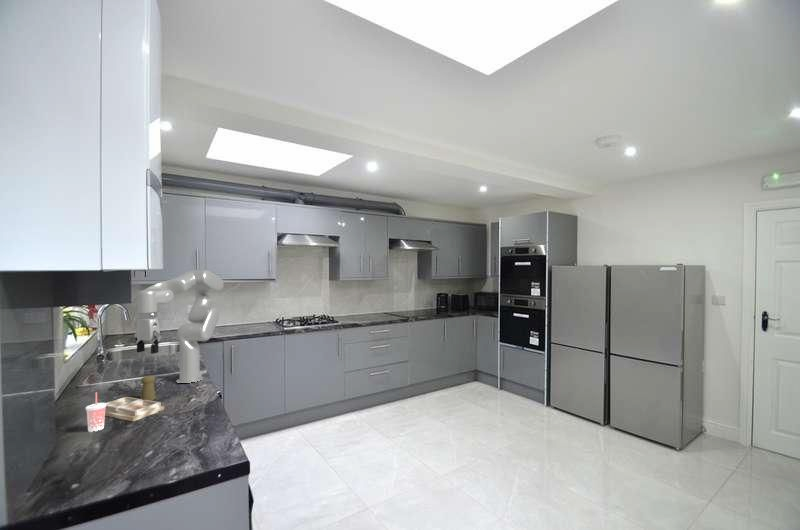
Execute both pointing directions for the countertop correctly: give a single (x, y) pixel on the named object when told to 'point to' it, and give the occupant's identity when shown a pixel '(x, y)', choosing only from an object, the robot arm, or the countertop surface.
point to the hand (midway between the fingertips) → (147, 352)
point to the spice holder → (132, 408)
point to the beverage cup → (96, 416)
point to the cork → (148, 388)
